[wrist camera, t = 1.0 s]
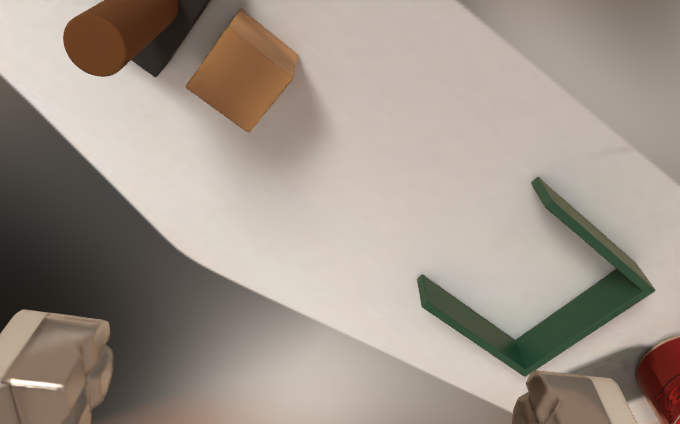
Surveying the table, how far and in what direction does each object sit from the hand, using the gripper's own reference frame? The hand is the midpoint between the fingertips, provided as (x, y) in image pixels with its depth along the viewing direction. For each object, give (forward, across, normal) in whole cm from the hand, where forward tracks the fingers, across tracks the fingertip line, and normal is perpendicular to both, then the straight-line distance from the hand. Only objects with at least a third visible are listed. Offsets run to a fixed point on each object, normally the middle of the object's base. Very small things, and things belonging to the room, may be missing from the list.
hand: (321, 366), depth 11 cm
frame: (+24, -15, +15) cm, 32 cm away
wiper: (+24, +10, -1) cm, 26 cm away
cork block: (+24, +5, +2) cm, 24 cm away
